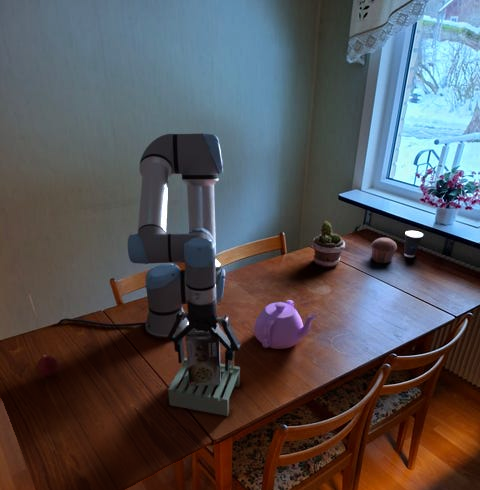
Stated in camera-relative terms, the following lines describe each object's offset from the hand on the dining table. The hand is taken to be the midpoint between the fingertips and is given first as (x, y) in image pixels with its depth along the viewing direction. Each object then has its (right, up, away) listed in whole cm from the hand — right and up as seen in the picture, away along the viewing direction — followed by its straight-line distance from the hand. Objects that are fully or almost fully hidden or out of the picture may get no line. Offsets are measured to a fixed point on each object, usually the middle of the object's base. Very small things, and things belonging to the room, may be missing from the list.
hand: (204, 364), depth 125 cm
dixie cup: (+92, +43, +89) cm, 135 cm away
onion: (-49, -5, +13) cm, 50 cm away
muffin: (+77, +41, +85) cm, 122 cm away
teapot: (+25, +5, +29) cm, 39 cm away
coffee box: (0, -5, +3) cm, 5 cm away
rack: (0, -9, +6) cm, 11 cm away
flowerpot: (+50, +39, +81) cm, 103 cm away
